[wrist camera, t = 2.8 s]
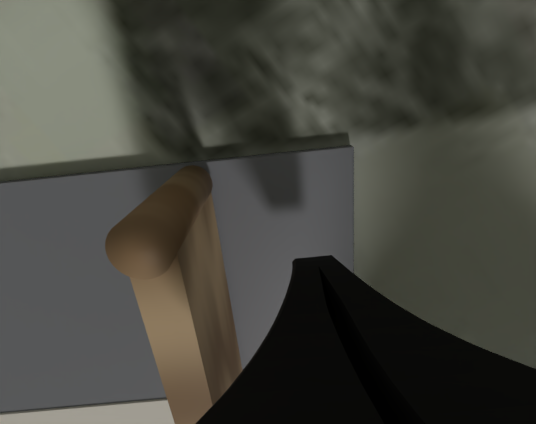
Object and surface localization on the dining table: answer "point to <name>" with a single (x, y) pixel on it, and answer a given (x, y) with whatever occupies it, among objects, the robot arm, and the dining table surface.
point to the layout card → (119, 285)
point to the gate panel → (181, 290)
